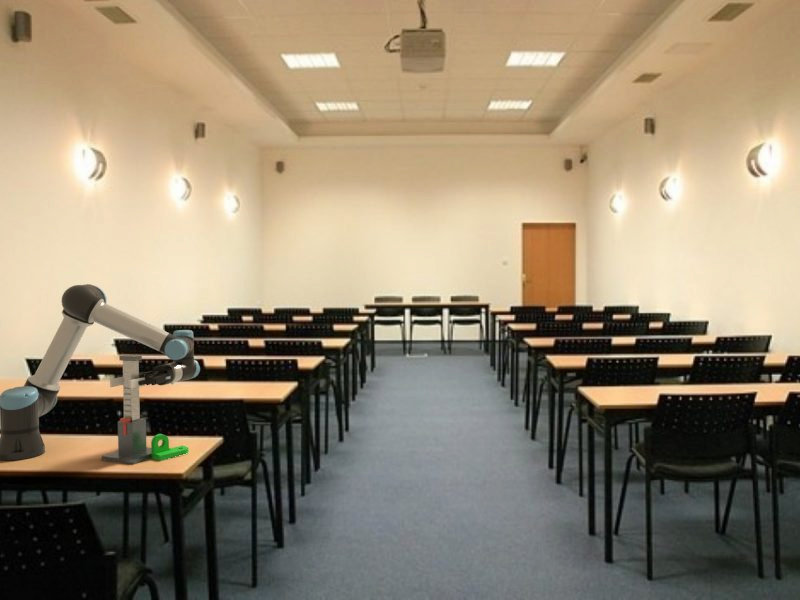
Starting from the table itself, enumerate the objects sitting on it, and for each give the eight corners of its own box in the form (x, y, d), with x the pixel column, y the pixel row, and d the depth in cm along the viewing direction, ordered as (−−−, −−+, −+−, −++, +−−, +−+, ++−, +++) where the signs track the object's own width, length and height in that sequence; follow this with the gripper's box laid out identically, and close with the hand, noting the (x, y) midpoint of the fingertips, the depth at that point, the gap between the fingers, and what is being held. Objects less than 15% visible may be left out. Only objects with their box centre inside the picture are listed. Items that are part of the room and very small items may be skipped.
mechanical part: (160, 461, 215) (160, 438, 215) (151, 458, 219) (151, 435, 219) (191, 453, 224) (191, 431, 224) (182, 450, 228) (182, 429, 228)
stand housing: (101, 460, 216) (100, 419, 215) (131, 449, 229) (130, 411, 229) (133, 464, 211) (132, 422, 211) (162, 453, 224) (162, 413, 224)
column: (120, 434, 219) (118, 355, 218) (128, 432, 223) (126, 354, 222) (136, 436, 217) (134, 356, 216) (143, 433, 220) (142, 355, 219)
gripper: (189, 385, 233) (144, 396, 211) (145, 382, 240) (97, 393, 218) (189, 365, 232) (144, 374, 211) (144, 363, 239) (97, 371, 218)
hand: (120, 383), depth 215 cm, fingers open, 8 cm apart
